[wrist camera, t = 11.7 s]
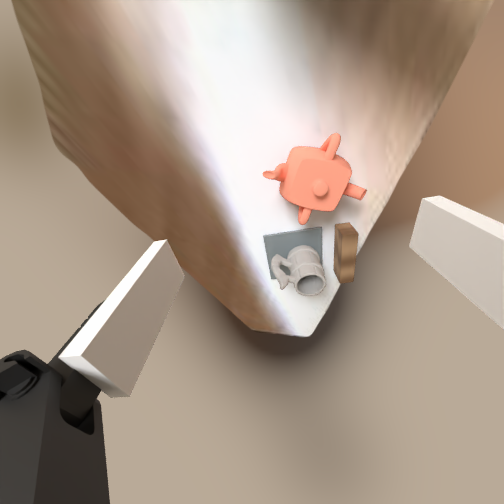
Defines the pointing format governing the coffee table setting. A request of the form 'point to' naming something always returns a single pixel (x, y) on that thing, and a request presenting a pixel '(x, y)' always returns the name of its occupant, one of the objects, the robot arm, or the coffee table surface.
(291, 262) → the mug
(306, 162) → the teapot
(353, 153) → the coffee table surface
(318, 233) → the plate
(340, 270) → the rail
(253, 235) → the coffee table surface
